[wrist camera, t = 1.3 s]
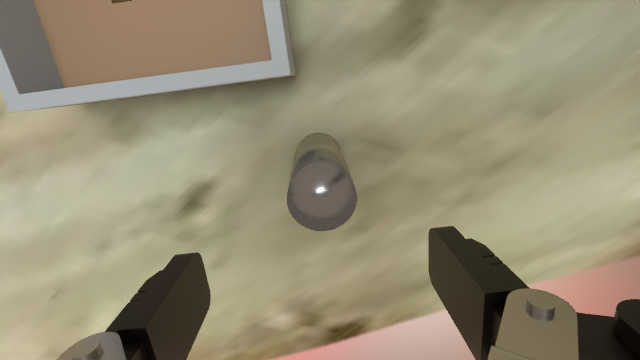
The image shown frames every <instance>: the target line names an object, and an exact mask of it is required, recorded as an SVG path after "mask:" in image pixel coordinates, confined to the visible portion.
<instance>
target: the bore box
mask: <svg viewBox="0 0 640 360" xmlns="http://www.w3.org/2000/svg"><path fill="white" fill-rule="evenodd" d="M289 76H296V72H295V65H294V58H293V51H292V44H291V37H290V30H289V23H288V16H287V9H286V2H285V0H134V1H132V0H0V90H1V92H2V94H3V97H4V99H5V102H6V104H7V106H8V109H9V111H10V112H19V111H28V110H36V109H45V108H53V107H62V106H71V105H79V104H87V103H95V102H102V101H110V100H117V99H125V98H132V97H140V96H147V95H155V94H162V93H170V92H177V91H185V90H192V89H200V88H207V87H214V86H222V85H229V84H237V83H244V82H252V81H259V80H267V79H274V78H282V77H289Z"/></svg>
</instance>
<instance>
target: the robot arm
mask: <svg viewBox="0 0 640 360" xmlns="http://www.w3.org/2000/svg"><path fill="white" fill-rule="evenodd" d="M429 275H430V279H431V282H432V285H433V287H434V289H435V290H436V292H437V294H438V296H439V297H440V299H441V301H442V302H443V304H444V306H445V308H446V309H447V311H448V313H449V314H450V316H451V318H452V320H453V321H454V323H455V324H456V326H457V328H458V330H459V332H460V333H461V335H462V337H463V338H464V340H465V342H466V343H467V345H468V347H469V349H470V350H471V352H472V354H473V356H474V357H475V359H476V360H640V300H638V299H631V300H625V301H622V302H620V303H619V304H618V305H617V308H616V312H615V317H609V316H601V315H591V314H584V313H577V312H575V310H574V309H573V307H572V306H571V305H570V304H569V303H568V302H566V301H565V300H563V299H561V298H560V297H558V296H556V295H554V294H551V293H549V292H546V291H542V290H537V289H530V288H529V287H528V286H527V285H526V284H525V283H524V282H523V281H522V280H521V279H520V278H519V277H517V276H516V275H515V274H514V273H513V272H512V271H511V270H510V269H509V268H508V267H507V266H506V265H505V264H503V262H502V261H501V260H500V259H499V258H498V257H497V256H496V257H495V254H494V253H493V252H492V251H491V250H490V249H488V248H487V247H486V246H485V245H483V244H481V243H479V242H477V241H475V240H473V239H465V238H464V237H463V236H462V235H461V234H460V232H459V231H458V230H457V229H456V228H455V227H453V226H448V227H439V228H431V229H430V230H429ZM209 306H210V289H209V285H208V281H207V277H206V273H205V269H204V265H203V261H202V257H201V255H200V254H199V253H188V254H178V255H175V256H174V257H173V258H172V259H171V261H170V262H169V263H168V265H167V266H166V267H165V268H164V270H162V271H159V272H158V273H156V274H155V275H153V276H152V277H151V278H149V279H148V280H147V281H146V282H145V283H144V284H143V285H142V287H141V288H140V289H139V290H138V293H136V294H135V295H134V296H133V298H132V299H131V300H130V303H128V304H127V305H126V306H125V308H124V309H123V310H122V311H121V312H120V314H119V315H118V316H117V317H116V319H115V320H114V321H113V322H112V323H111V325H110V326H109V327H108V328H107V330H106V331H105V332H102V333H97V334H94V335H91V336H89V337H86V338H84V339H82V340H80V341H79V342H77V343H75V344H74V345H72V346H71V347H70V348H68V349H67V350H66V351H65V352H64V353H62V354H61V355H60V357H59V358H58V359H57V360H186V359H187V356H188V354H189V352H190V350H191V348H192V345H193V343H194V341H195V339H196V336H197V334H198V332H199V330H200V327H201V325H202V323H203V321H204V318H205V316H206V314H207V312H208V309H209Z"/></svg>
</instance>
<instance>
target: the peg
mask: <svg viewBox="0 0 640 360" xmlns="http://www.w3.org/2000/svg"><path fill="white" fill-rule="evenodd" d="M356 202H357V194H356V190H355V187H354V184H353V181H352V179H351V176H350V174H349V171H348V168H347V166H346V163H345V161H344V158H343V155H342V153H341V150H340V148H339V145H338V144H337V142H336V141H335V140H334V139H333V138H332V137H330V136H329V135H326V134H323V133H314V134H311V135H308V136H307V137H305V138H304V139H303V140H302V141H301V142H300V144H299V146H298V148H297V152H296V156H295V161H294V166H293V170H292V175H291V180H290V184H289V189H288V194H287V204H288V208H289V211H290V213H291V215H292V216H293V218H294V219H295V220H296V221H297V222H298V223H299V224H301V225H302V226H304V227H306V228H308V229H311V230H315V231H328V230H332V229H335V228H337V227H339V226H341V225H343V224H344V223H345V222H346V221H347V220H348V219H349V218H350V217H351V215H352V214H353V212H354V210H355V207H356Z"/></svg>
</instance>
